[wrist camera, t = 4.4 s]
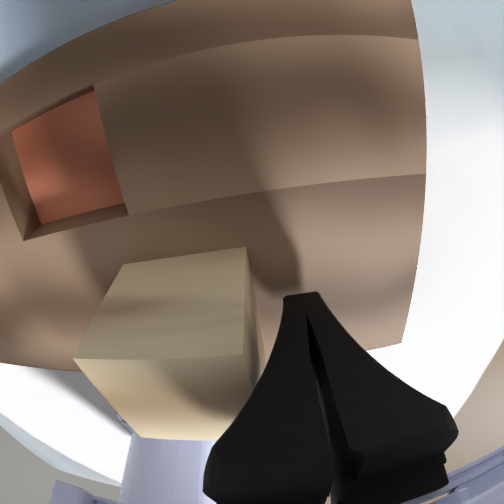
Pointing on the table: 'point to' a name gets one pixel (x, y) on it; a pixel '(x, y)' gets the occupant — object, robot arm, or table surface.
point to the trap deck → (216, 163)
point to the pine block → (177, 344)
